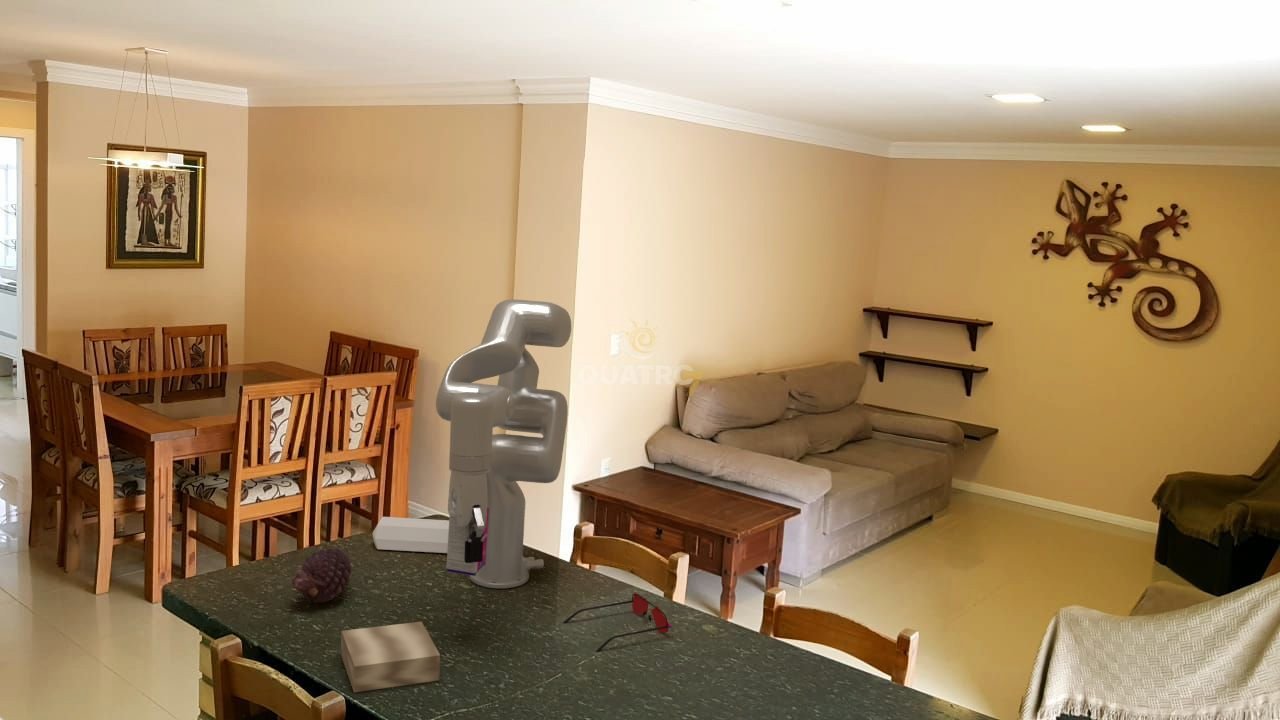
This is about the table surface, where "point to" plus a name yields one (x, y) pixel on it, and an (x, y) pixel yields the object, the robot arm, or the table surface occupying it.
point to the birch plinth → (389, 656)
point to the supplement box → (462, 548)
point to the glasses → (639, 608)
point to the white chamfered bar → (412, 534)
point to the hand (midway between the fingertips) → (467, 552)
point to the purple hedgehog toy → (323, 575)
